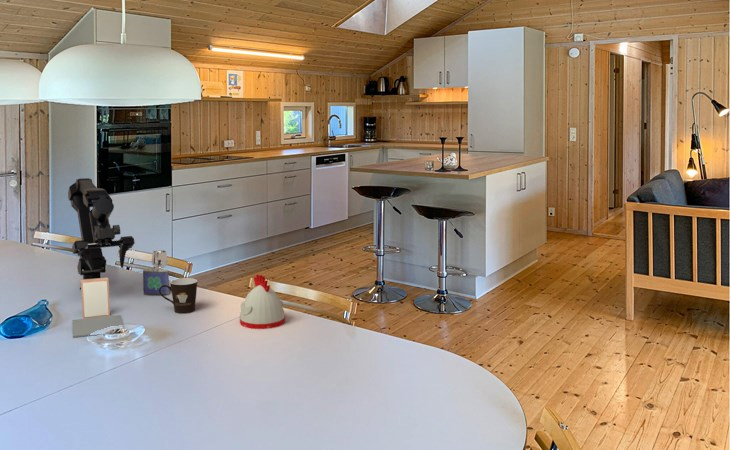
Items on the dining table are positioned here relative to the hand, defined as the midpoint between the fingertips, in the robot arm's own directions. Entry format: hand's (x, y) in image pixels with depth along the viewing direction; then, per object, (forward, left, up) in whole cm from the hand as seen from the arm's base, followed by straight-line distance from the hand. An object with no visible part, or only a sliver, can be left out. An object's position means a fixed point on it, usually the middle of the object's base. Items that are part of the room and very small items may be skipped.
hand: (107, 269), depth 211 cm
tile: (+5, -8, -13) cm, 16 cm away
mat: (+15, -13, -13) cm, 24 cm away
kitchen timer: (+49, +22, -13) cm, 56 cm away
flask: (-2, +19, -13) cm, 23 cm away
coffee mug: (+20, +13, -13) cm, 28 cm away
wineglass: (-15, +30, -13) cm, 36 cm away
